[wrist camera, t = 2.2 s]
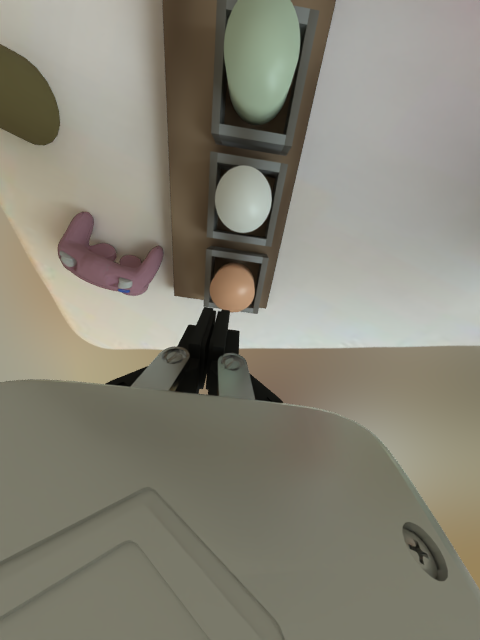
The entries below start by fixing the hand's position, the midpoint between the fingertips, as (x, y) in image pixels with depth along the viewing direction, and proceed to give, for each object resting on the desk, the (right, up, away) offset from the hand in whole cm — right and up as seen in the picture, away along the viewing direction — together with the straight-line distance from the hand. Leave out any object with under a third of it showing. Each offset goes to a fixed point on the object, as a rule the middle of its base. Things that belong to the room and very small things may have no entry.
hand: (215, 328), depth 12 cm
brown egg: (+1, +5, +8) cm, 10 cm away
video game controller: (-13, +9, +11) cm, 20 cm away
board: (+1, +15, +7) cm, 17 cm away
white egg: (+2, +11, +5) cm, 12 cm away
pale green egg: (+3, +18, +1) cm, 18 cm away
